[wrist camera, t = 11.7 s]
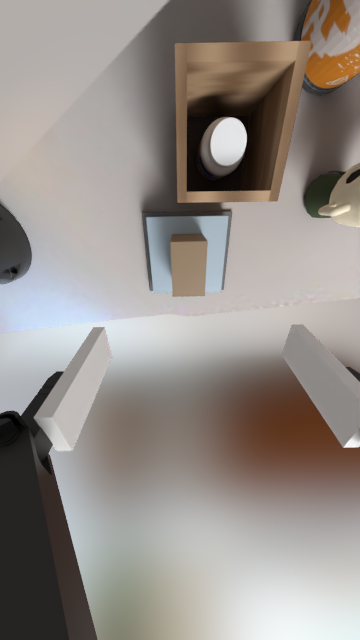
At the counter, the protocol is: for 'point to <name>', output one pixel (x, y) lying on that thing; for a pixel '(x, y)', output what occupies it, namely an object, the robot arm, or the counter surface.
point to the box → (241, 107)
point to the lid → (187, 253)
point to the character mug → (336, 197)
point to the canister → (330, 43)
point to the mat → (167, 214)
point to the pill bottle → (221, 148)
